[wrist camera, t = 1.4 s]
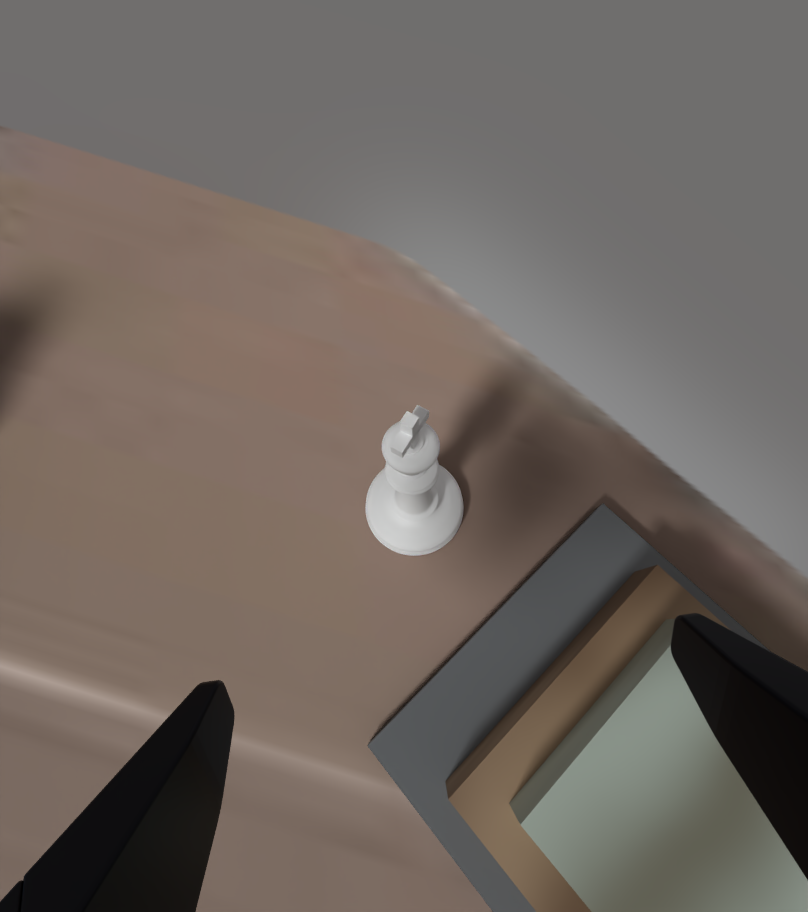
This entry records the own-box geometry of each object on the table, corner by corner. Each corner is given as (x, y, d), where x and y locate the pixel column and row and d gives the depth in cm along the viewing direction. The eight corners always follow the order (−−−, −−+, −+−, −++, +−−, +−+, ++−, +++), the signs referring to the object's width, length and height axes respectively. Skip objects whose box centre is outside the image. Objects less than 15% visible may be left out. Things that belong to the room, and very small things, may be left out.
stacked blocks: (894, 809, 18) (1030, 859, 14) (707, 1111, 15) (808, 1281, 11) (634, 571, 21) (683, 556, 17) (445, 781, 18) (451, 820, 14)
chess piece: (347, 523, 23) (296, 446, 14) (397, 445, 25) (383, 328, 15) (432, 575, 22) (440, 529, 13) (480, 489, 24) (518, 393, 14)
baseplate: (971, 841, 18) (995, 850, 17) (747, 1238, 14) (765, 1271, 14) (597, 507, 23) (602, 503, 22) (369, 741, 20) (367, 745, 19)
